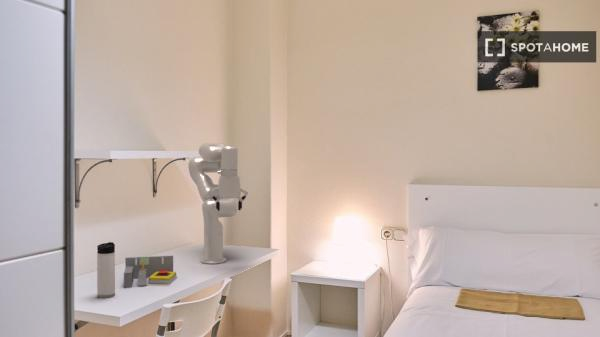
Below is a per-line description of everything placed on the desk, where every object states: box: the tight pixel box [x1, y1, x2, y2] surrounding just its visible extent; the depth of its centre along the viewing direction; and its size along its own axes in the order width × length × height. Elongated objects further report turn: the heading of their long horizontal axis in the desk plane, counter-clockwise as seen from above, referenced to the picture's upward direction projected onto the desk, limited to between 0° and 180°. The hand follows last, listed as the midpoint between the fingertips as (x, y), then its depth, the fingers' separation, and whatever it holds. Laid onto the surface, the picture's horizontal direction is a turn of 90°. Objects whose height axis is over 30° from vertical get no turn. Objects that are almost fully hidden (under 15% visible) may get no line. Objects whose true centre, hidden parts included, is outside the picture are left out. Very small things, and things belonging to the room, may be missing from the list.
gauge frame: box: [123, 255, 174, 289], centre depth 209 cm, size 16×20×9 cm
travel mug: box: [96, 241, 116, 299], centre depth 188 cm, size 6×7×20 cm
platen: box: [137, 261, 148, 287], centre depth 207 cm, size 11×3×8 cm, turn 15°
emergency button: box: [146, 271, 178, 287], centre depth 210 cm, size 9×4×15 cm
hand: (229, 210), depth 228 cm, fingers open, 9 cm apart
